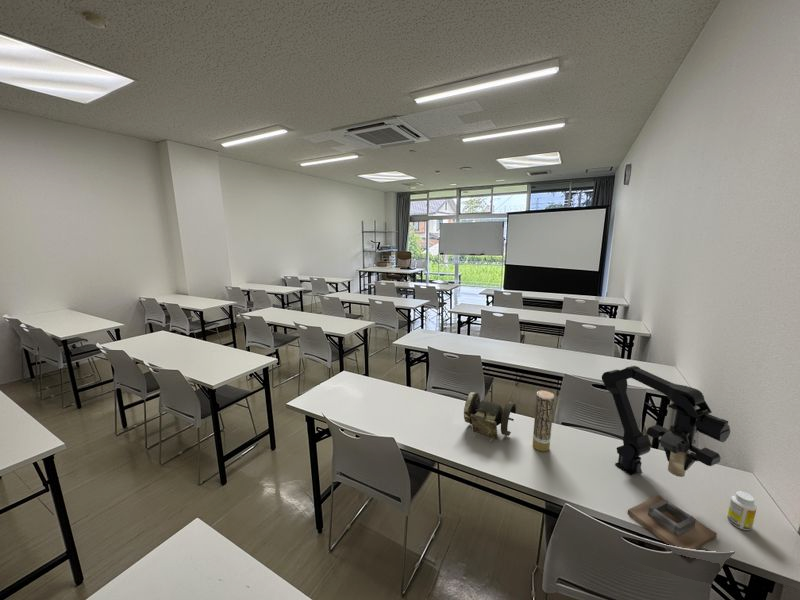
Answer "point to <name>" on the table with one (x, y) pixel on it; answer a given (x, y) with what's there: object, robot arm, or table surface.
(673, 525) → the collar socket
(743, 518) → the supplement bottle
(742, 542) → the table surface
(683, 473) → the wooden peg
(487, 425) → the bench grinder
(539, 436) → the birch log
